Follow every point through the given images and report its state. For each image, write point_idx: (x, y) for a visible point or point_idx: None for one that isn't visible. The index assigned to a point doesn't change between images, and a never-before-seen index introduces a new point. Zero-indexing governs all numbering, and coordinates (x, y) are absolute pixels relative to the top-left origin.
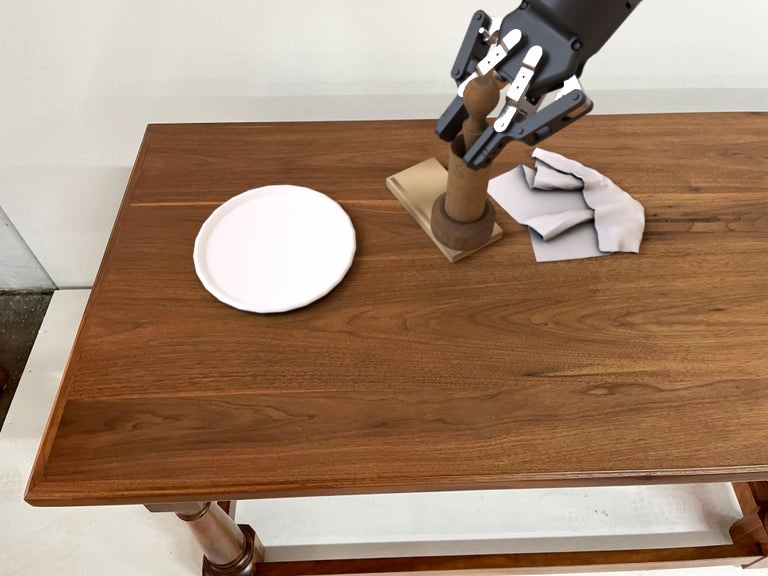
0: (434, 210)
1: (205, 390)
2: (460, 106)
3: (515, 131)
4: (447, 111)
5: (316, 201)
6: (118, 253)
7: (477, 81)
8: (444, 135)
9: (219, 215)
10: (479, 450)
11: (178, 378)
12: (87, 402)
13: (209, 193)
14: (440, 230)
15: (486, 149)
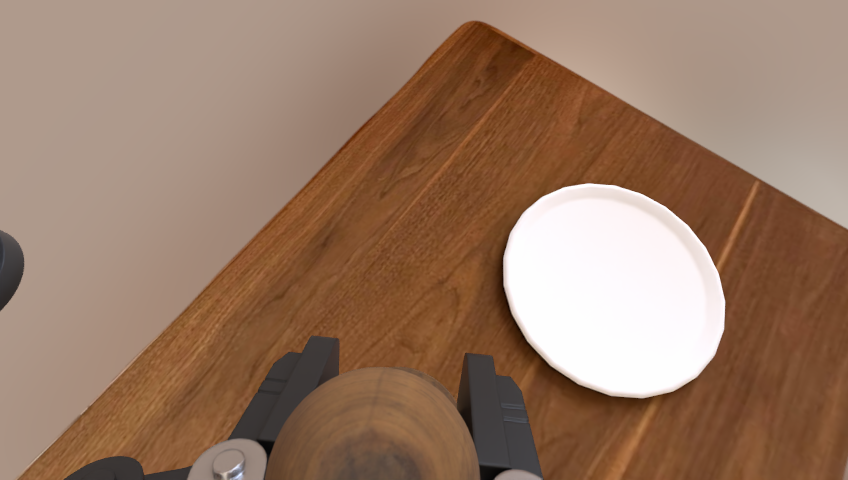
0: (437, 387)
1: (473, 136)
2: (478, 444)
3: (126, 475)
4: (519, 423)
5: (664, 374)
6: (685, 143)
7: (394, 456)
8: (463, 377)
9: (694, 248)
10: (223, 306)
11: (501, 124)
12: (523, 64)
13: (742, 263)
14: (394, 367)
15: (273, 395)
